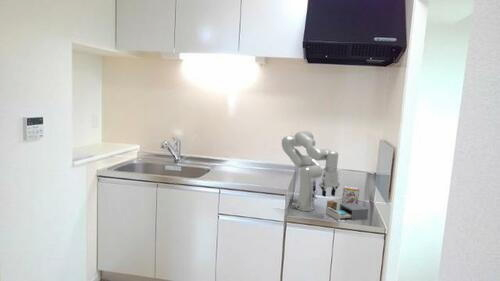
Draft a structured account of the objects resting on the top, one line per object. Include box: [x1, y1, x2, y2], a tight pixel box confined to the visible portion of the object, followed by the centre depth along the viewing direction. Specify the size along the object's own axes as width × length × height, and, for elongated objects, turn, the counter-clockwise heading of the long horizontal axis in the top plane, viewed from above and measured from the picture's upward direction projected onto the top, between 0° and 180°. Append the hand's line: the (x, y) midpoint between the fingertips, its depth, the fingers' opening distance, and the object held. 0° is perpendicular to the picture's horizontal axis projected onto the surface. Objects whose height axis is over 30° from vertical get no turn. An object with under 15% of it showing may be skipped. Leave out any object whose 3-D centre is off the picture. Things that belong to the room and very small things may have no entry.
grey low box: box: [339, 203, 369, 221], centre depth 230 cm, size 13×14×7 cm
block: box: [326, 199, 338, 211], centre depth 241 cm, size 5×5×6 cm
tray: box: [326, 206, 351, 221], centre depth 226 cm, size 14×14×5 cm
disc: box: [335, 209, 346, 216], centre depth 226 cm, size 7×7×2 cm
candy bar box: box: [341, 185, 360, 204], centre depth 245 cm, size 11×5×16 cm, turn 77°
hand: (328, 195), depth 220 cm, fingers open, 6 cm apart
